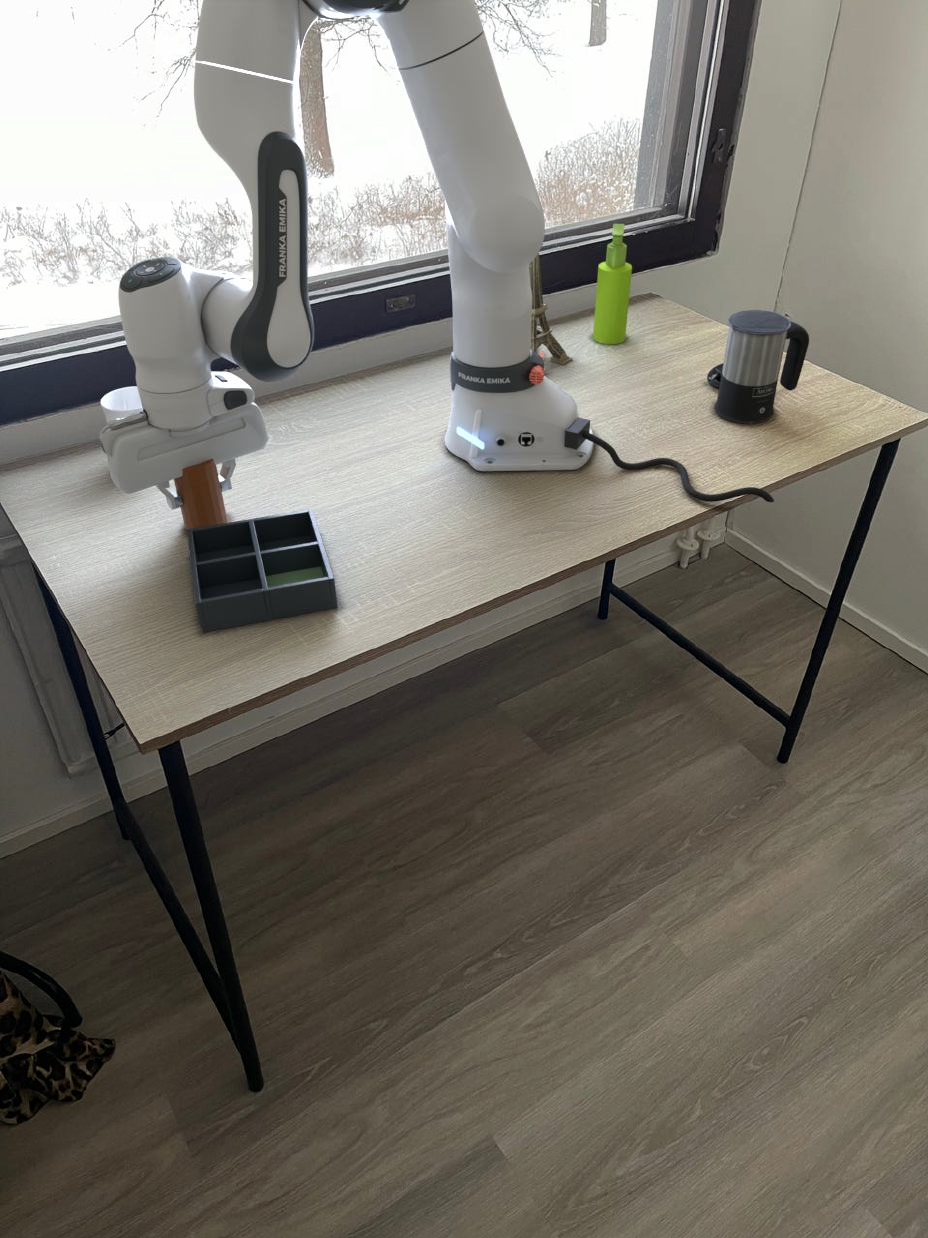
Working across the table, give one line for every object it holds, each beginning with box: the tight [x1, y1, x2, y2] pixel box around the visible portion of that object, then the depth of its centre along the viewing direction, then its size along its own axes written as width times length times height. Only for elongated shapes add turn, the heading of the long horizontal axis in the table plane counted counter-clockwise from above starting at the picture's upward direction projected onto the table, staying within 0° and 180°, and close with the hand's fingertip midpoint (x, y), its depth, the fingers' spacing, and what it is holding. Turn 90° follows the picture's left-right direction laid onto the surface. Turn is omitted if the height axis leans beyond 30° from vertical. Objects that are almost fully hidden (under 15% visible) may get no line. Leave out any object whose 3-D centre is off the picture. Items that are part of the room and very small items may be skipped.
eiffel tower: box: [529, 243, 573, 366], centre depth 157 cm, size 11×11×25 cm
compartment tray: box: [186, 508, 338, 633], centre depth 114 cm, size 16×16×4 cm
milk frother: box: [706, 309, 810, 425], centre depth 148 cm, size 14×16×15 cm
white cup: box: [100, 385, 143, 429], centre depth 136 cm, size 8×8×10 cm
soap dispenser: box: [592, 223, 633, 345], centre depth 166 cm, size 6×7×20 cm
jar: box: [173, 459, 228, 531], centre depth 123 cm, size 6×6×10 cm
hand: (200, 497), depth 123 cm, fingers closed on jar, 5 cm apart
